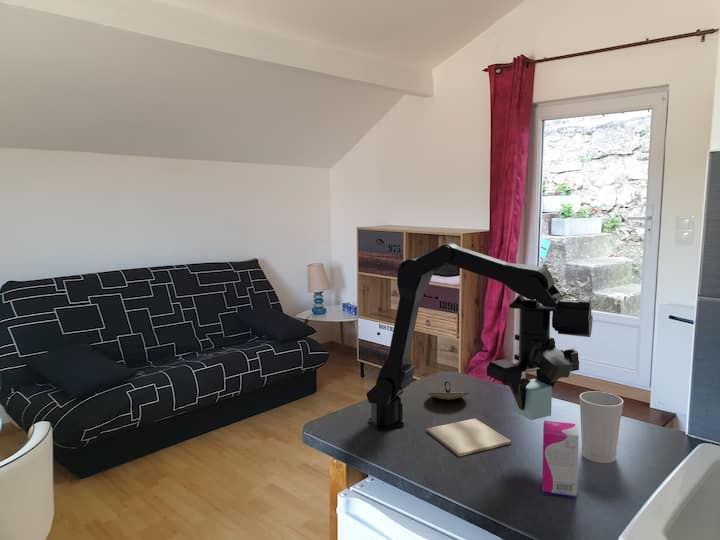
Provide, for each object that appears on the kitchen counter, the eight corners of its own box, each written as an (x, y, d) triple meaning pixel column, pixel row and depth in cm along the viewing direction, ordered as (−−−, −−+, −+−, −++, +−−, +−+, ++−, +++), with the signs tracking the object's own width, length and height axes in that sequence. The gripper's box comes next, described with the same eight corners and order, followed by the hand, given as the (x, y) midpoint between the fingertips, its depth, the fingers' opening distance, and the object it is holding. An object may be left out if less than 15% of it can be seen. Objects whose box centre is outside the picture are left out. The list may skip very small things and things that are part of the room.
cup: (602, 469, 102) (604, 409, 101) (568, 451, 109) (570, 395, 108) (629, 459, 106) (632, 401, 104) (595, 443, 113) (597, 388, 111)
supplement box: (575, 482, 98) (577, 422, 96) (577, 499, 92) (579, 437, 91) (541, 477, 100) (543, 419, 98) (541, 494, 94) (543, 432, 92)
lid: (430, 409, 132) (430, 390, 132) (424, 394, 142) (424, 376, 142) (473, 408, 133) (473, 388, 132) (464, 393, 142) (464, 375, 142)
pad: (459, 456, 108) (459, 453, 108) (426, 431, 120) (426, 428, 120) (511, 443, 113) (511, 441, 113) (475, 420, 125) (475, 418, 125)
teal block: (530, 420, 104) (531, 390, 103) (514, 410, 108) (514, 382, 108) (551, 415, 106) (551, 386, 105) (533, 406, 110) (534, 378, 110)
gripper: (523, 347, 94) (521, 431, 96) (602, 335, 101) (599, 413, 103) (485, 333, 104) (484, 409, 106) (559, 322, 111) (557, 394, 113)
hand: (532, 407), depth 107 cm, fingers closed on teal block, 5 cm apart
